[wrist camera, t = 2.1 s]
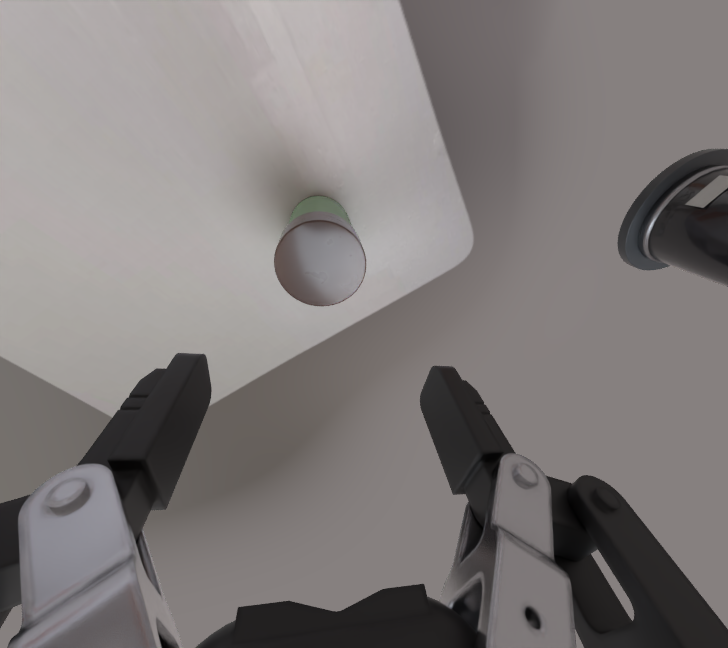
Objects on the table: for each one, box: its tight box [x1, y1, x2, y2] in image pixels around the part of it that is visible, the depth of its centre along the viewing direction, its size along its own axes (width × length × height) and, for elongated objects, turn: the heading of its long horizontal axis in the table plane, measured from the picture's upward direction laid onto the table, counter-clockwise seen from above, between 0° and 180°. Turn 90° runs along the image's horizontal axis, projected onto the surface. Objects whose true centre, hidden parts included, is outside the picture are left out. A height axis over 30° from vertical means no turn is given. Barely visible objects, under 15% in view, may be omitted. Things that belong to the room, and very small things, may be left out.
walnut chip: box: [274, 211, 366, 306], centre depth 19 cm, size 6×6×2 cm
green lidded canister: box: [289, 196, 351, 225], centre depth 23 cm, size 6×6×7 cm
